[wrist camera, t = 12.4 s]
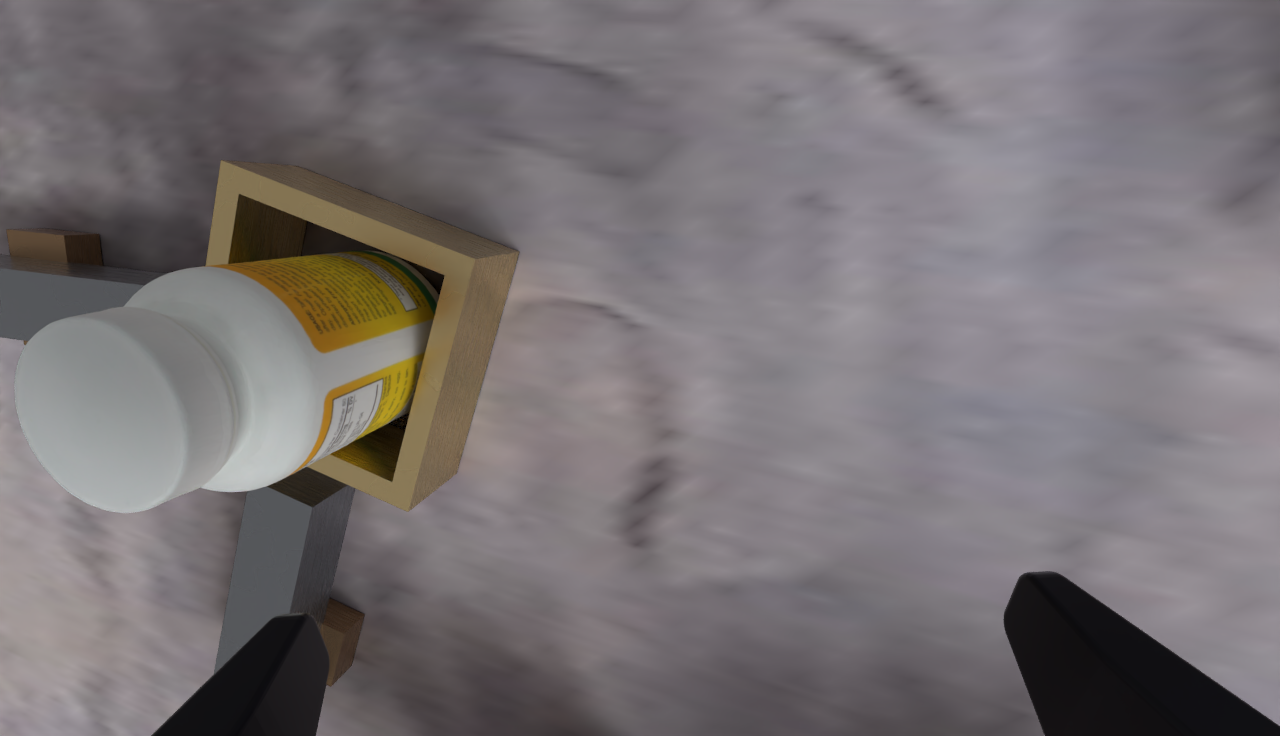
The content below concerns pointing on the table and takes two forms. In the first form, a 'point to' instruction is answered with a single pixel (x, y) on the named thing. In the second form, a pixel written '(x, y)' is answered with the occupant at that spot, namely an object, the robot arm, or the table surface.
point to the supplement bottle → (224, 376)
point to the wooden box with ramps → (376, 463)
